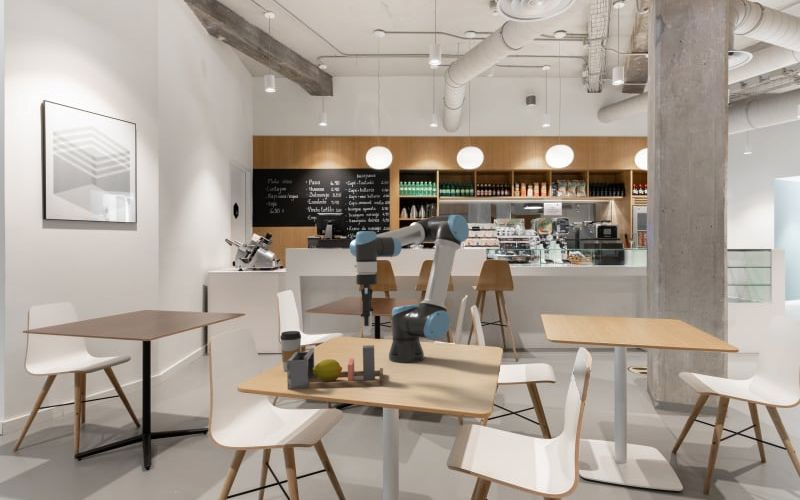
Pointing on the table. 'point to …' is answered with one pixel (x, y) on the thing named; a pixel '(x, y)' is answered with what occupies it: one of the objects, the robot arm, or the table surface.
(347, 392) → the table surface
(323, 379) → the lemon
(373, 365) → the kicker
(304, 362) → the grey open bin
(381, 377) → the lane rails
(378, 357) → the table surface
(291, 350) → the coffee cup
